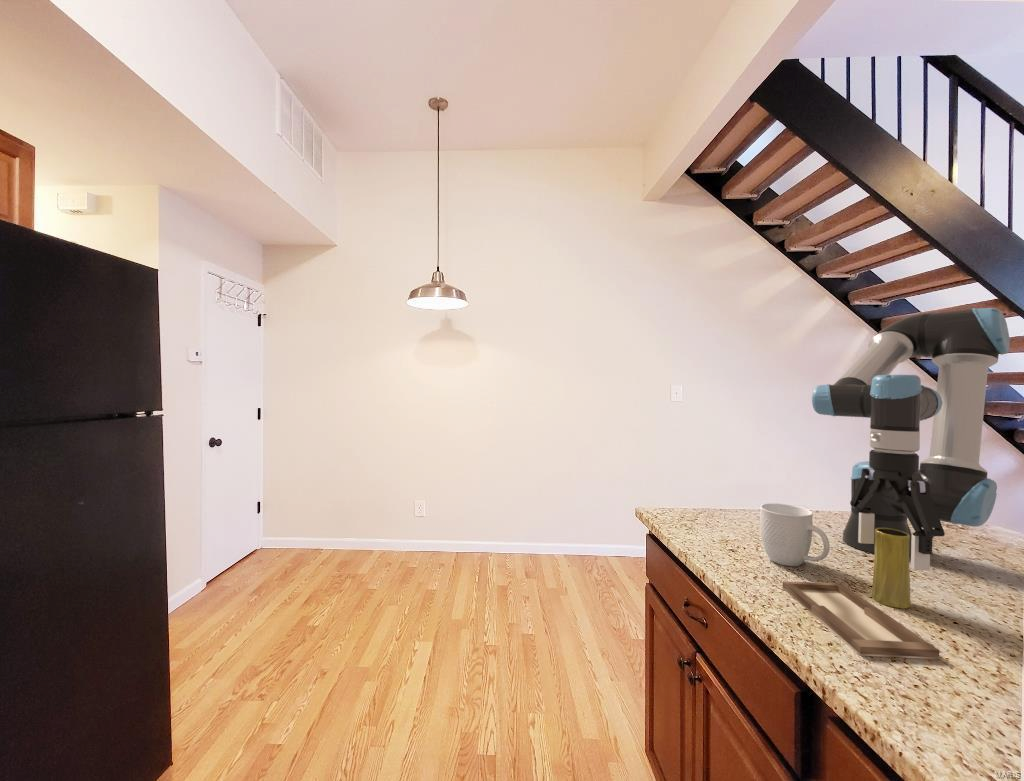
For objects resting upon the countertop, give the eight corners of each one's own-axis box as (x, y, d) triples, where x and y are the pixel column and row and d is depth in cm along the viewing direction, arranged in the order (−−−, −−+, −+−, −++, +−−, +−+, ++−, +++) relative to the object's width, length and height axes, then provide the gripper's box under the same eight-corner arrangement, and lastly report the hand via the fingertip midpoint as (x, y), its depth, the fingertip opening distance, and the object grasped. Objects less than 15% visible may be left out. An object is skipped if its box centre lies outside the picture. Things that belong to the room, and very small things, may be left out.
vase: (863, 593, 91) (864, 526, 90) (893, 594, 90) (894, 526, 90) (888, 608, 84) (889, 537, 84) (920, 609, 84) (921, 537, 84)
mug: (838, 569, 102) (839, 515, 102) (818, 581, 96) (819, 523, 96) (772, 549, 115) (773, 500, 114) (750, 558, 109) (751, 507, 108)
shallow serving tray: (841, 590, 92) (841, 583, 92) (939, 659, 69) (939, 650, 69) (782, 588, 93) (782, 581, 93) (860, 655, 70) (860, 646, 70)
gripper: (832, 442, 100) (830, 533, 100) (928, 460, 75) (925, 582, 75) (867, 443, 99) (864, 534, 99) (975, 462, 74) (971, 584, 74)
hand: (890, 555), depth 87 cm, fingers open, 13 cm apart
